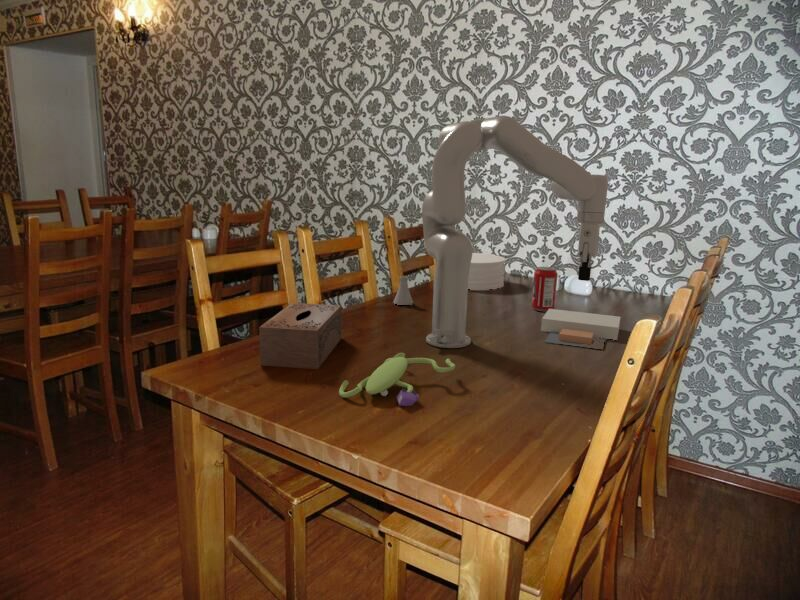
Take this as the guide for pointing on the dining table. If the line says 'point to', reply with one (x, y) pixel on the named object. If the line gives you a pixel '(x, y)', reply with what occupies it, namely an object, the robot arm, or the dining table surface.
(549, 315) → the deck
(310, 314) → the tissue box cover
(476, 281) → the plate stack
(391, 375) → the figurine
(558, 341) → the mat
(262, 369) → the dining table surface
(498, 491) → the dining table surface
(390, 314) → the dining table surface
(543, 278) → the soda can
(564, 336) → the tile
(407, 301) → the flask
